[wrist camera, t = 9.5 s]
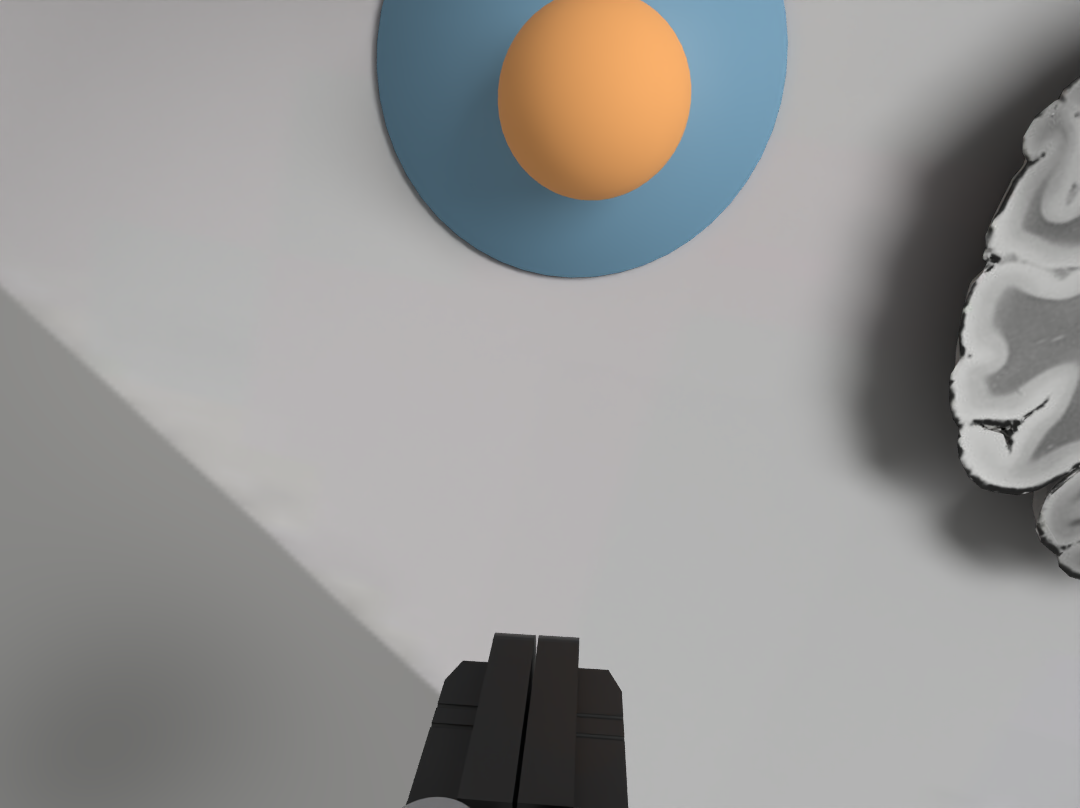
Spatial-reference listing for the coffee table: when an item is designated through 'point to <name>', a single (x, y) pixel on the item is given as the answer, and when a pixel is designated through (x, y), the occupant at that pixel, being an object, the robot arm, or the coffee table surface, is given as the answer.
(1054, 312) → the brain slice
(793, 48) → the coffee table surface
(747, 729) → the coffee table surface
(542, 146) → the ball
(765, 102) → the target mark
